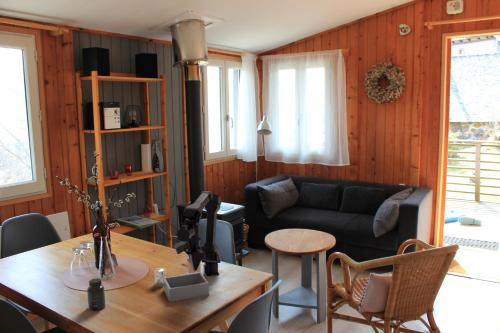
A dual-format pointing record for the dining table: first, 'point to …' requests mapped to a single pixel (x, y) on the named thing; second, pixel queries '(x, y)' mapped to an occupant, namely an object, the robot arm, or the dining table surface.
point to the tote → (185, 286)
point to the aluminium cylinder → (159, 276)
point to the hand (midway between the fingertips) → (193, 268)
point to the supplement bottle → (96, 295)
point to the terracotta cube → (191, 268)
